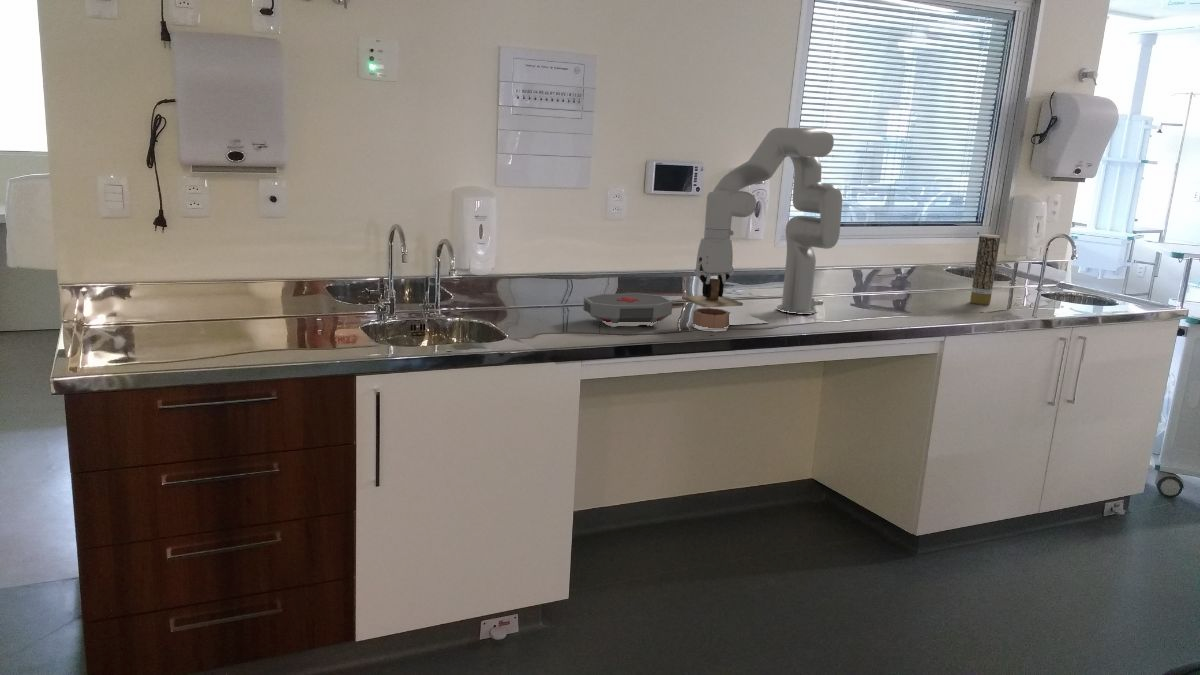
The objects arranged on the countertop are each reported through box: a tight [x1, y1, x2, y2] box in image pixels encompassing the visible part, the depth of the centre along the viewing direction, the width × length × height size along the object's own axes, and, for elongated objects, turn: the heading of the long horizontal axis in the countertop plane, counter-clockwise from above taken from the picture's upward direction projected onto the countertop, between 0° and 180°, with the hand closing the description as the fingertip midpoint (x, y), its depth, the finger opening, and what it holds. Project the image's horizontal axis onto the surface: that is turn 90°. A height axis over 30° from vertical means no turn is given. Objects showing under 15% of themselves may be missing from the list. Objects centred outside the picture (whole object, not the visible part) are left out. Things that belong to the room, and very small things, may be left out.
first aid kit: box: [582, 293, 673, 323], centre depth 257 cm, size 18×8×25 cm
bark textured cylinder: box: [969, 233, 1001, 306], centre depth 311 cm, size 7×7×25 cm
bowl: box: [692, 307, 731, 328], centre depth 256 cm, size 10×10×5 cm
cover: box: [681, 278, 744, 308], centre depth 254 cm, size 13×13×7 cm
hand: (712, 295), depth 254 cm, fingers closed on cover, 3 cm apart
